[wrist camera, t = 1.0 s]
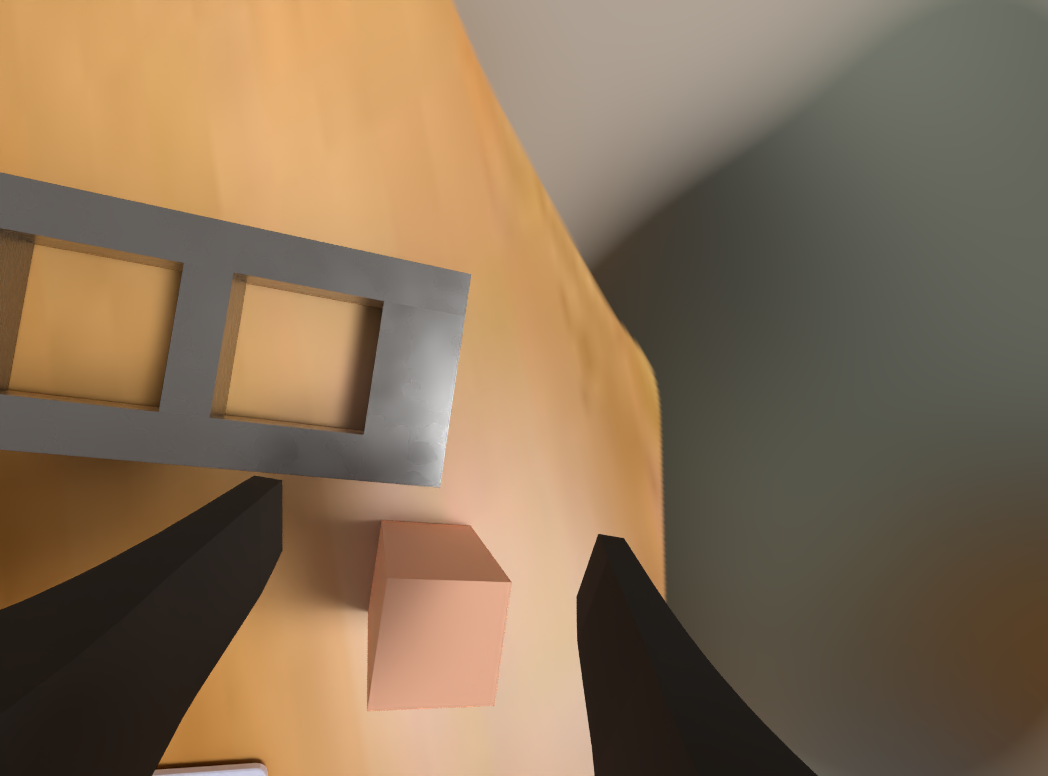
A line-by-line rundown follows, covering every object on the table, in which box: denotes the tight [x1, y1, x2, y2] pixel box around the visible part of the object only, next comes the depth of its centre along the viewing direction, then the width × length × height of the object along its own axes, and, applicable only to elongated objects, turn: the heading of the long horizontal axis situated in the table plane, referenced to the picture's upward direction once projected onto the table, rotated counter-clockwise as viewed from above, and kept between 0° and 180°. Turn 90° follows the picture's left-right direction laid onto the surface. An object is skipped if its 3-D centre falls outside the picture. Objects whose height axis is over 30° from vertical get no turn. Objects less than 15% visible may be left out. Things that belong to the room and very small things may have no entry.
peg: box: [367, 520, 512, 711], centre depth 19 cm, size 4×4×7 cm
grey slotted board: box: [0, 173, 471, 488], centre depth 18 cm, size 9×26×2 cm, turn 81°
